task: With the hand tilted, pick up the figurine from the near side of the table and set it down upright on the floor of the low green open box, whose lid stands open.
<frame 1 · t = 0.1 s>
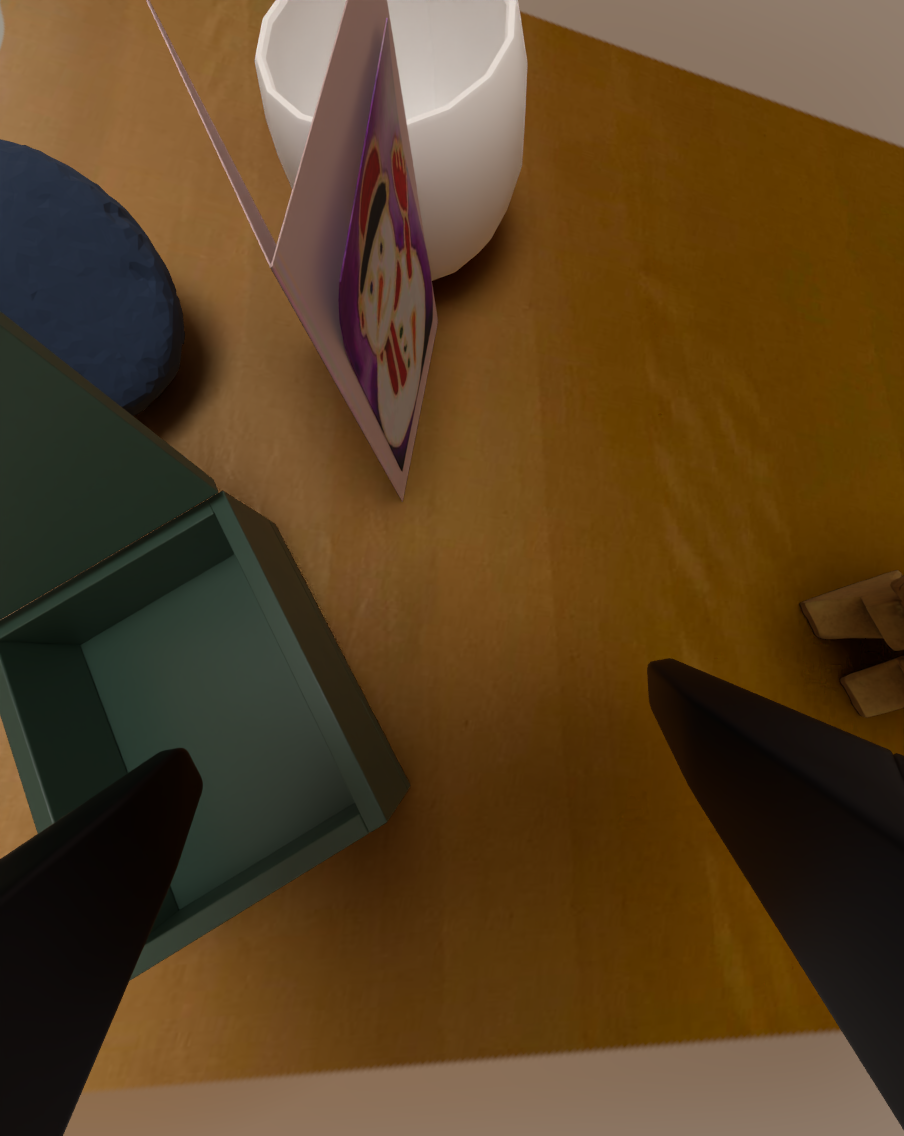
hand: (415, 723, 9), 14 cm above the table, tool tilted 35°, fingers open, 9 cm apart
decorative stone: (136, 373, 28), on the table
greeting card: (374, 404, 26), on the table
green open box: (232, 708, 23), on the table
cup: (420, 243, 28), on the table
figurine: (862, 644, 21), on the table
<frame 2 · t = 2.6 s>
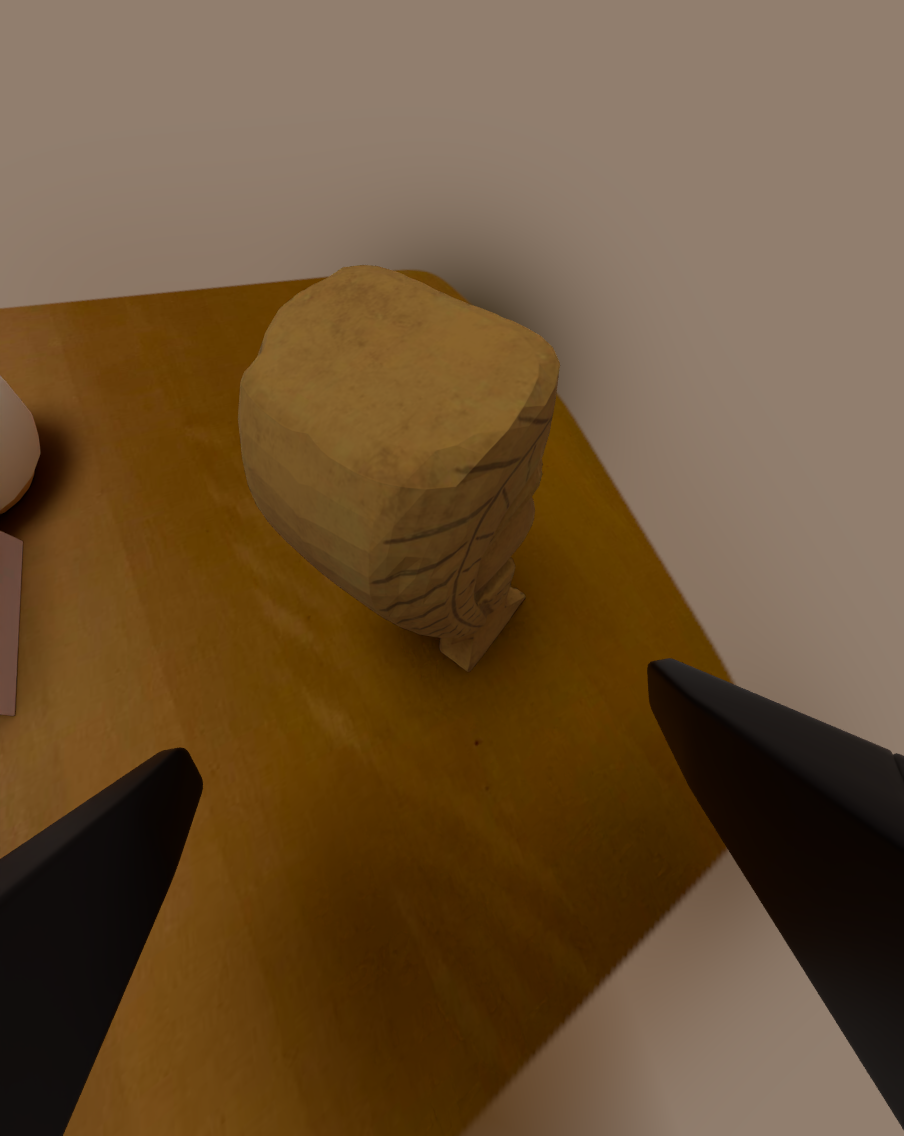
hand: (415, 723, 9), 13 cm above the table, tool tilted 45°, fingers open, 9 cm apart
figurine: (450, 611, 23), on the table
when the fingers open (9 cm above the table, at t = 13.5 s): figurine stays where it is, resting on green open box.
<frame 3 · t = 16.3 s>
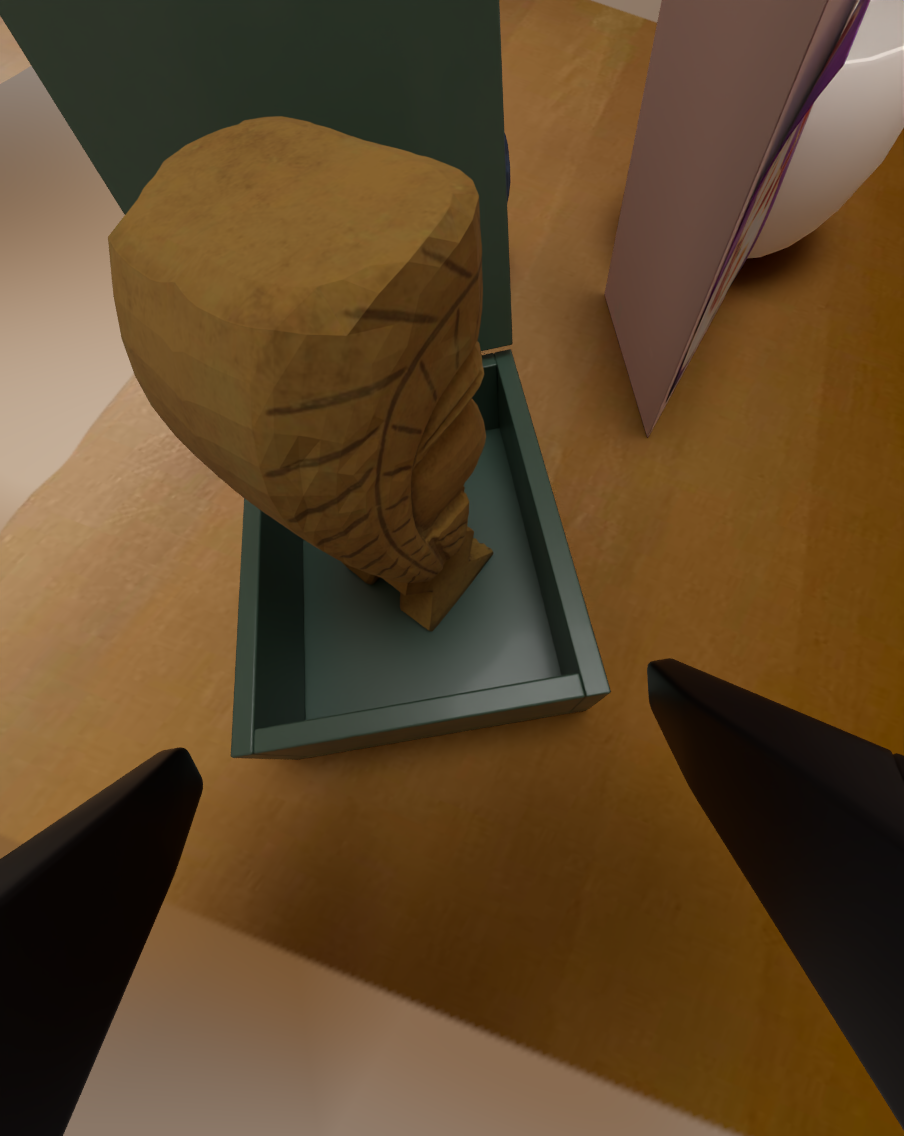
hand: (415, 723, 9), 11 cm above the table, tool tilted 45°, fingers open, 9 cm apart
greeting card: (637, 352, 26), on the table
box lid: (301, 111, 15), point 13 cm above the table, hinge at 100.0°
green open box: (417, 569, 22), on the table
cup: (718, 239, 29), on the table
figurine: (413, 569, 22), point 1 cm above the table, touching green open box
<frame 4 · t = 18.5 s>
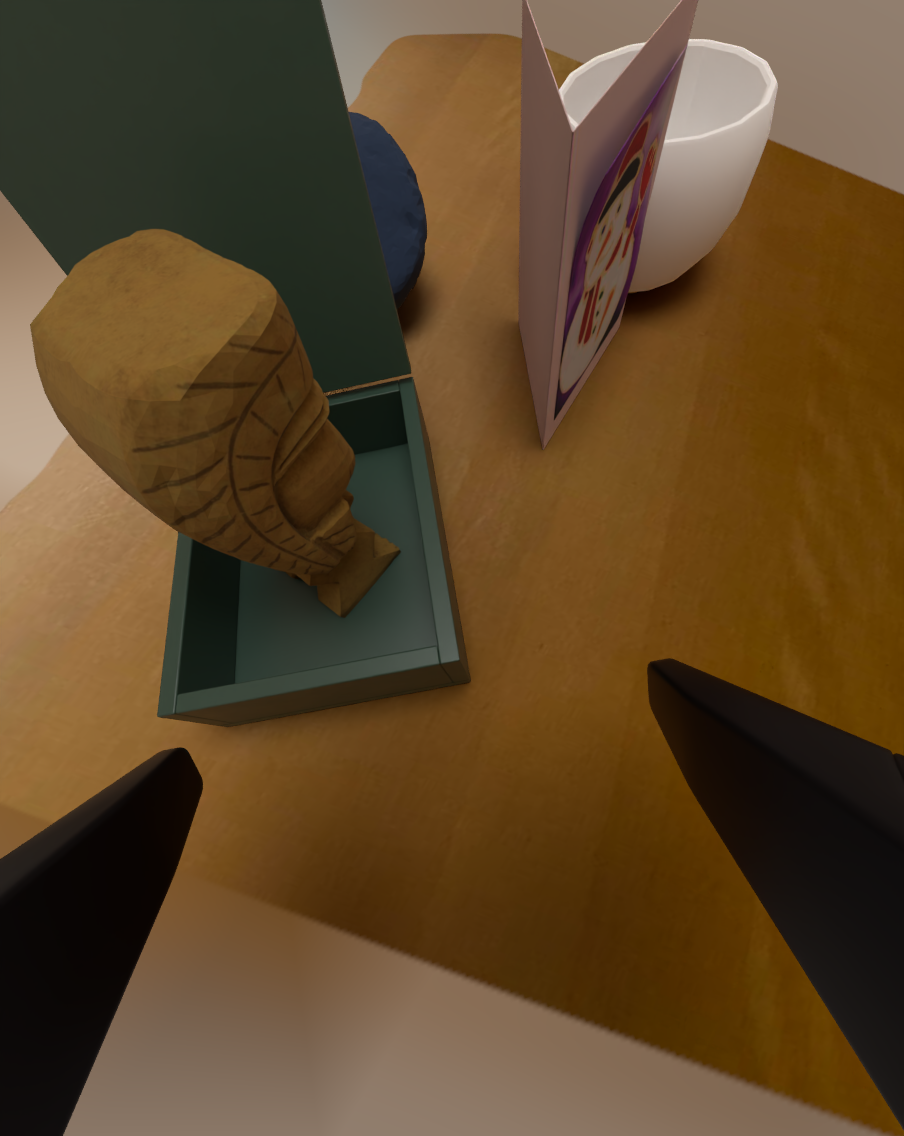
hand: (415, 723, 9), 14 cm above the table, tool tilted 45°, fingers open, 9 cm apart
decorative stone: (361, 311, 35), on the table
greeting card: (542, 374, 30), on the table
box lid: (212, 194, 18), point 13 cm above the table, hinge at 100.0°
green open box: (339, 566, 26), on the table
cup: (621, 271, 33), on the table
figurine: (334, 565, 25), point 1 cm above the table, touching green open box
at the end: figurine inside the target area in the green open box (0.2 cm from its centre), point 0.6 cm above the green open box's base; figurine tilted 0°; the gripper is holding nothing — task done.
